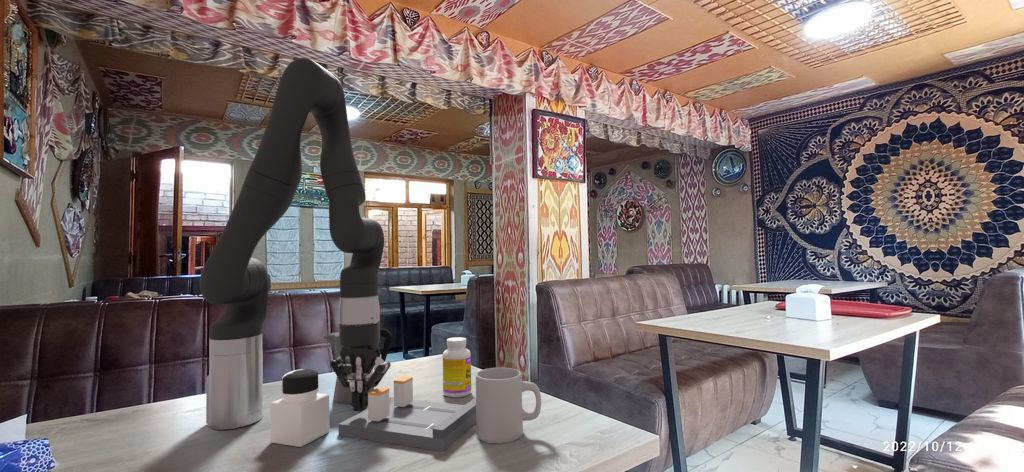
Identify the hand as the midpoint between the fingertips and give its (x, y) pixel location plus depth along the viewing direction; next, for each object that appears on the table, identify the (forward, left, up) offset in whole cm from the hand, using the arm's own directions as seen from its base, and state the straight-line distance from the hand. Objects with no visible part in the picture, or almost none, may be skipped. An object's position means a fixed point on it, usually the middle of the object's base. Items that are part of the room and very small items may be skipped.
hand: (360, 410), depth 86 cm
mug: (+28, +6, -4) cm, 29 cm away
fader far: (+4, +8, -1) cm, 9 cm away
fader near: (+4, 0, -1) cm, 4 cm away
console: (+9, +4, -3) cm, 11 cm away
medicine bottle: (-8, -7, -4) cm, 11 cm away
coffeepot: (-13, +15, -4) cm, 20 cm away
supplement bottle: (+8, +24, -4) cm, 26 cm away
